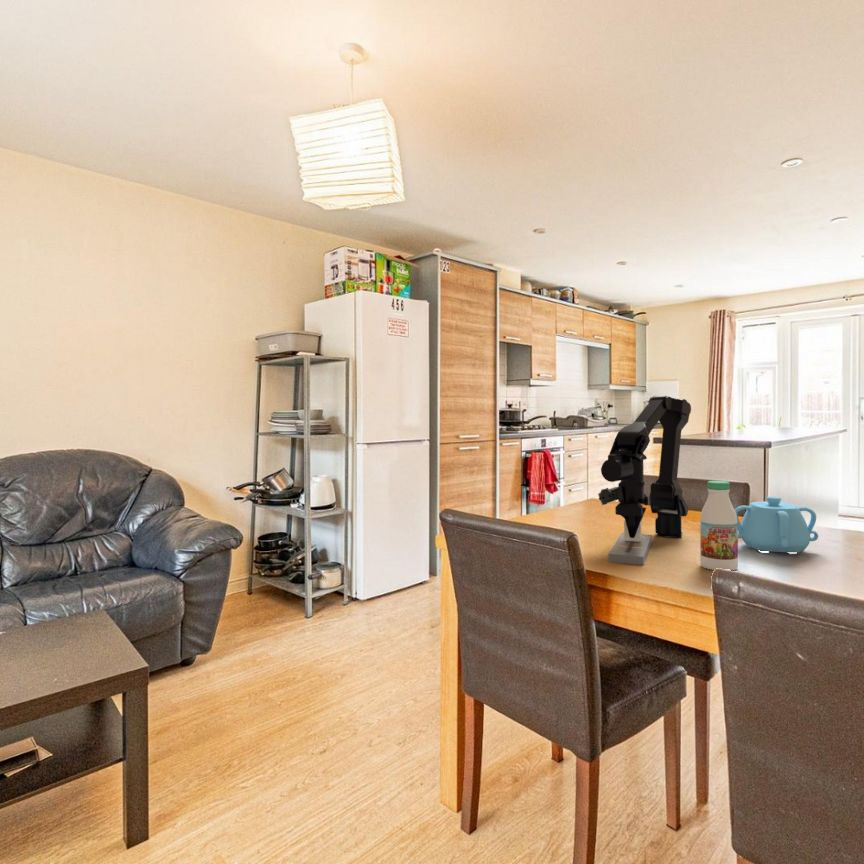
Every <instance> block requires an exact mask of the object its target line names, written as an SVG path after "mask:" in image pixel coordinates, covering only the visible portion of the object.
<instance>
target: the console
mask: <svg viewBox="0 0 864 864" xmlns="http://www.w3.org/2000/svg"><path fill="white" fill-rule="evenodd" d="M652 543H653V535H652V534H643V533H641V541H640V542H637V541H624V532H620V534H619V536H618V538H617V539H616V541H615V542H614V544H613V546H612V547H611V548H610V550H609V552H608V555H607V557H608V562H609V563H615V564H617V563H619V564H626V563H627V564H628V565H638V566H639V565H640V566H645V563H646V560H647V557H648V554H649V552H650V548H651V545H652ZM627 564H626V565H627Z"/></svg>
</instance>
